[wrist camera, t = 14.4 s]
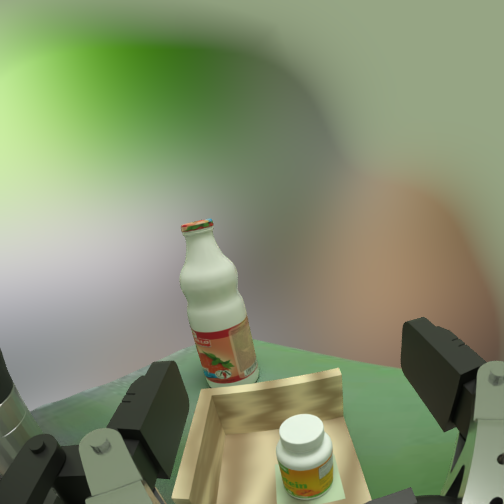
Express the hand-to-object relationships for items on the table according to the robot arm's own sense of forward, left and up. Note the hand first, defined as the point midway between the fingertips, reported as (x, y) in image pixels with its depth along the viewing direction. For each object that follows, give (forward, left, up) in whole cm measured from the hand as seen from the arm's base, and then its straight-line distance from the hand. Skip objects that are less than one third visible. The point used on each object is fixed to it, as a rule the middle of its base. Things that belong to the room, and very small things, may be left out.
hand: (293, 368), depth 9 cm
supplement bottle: (0, +11, -24) cm, 26 cm away
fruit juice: (-10, +36, -25) cm, 45 cm away
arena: (-3, +14, -24) cm, 28 cm away
